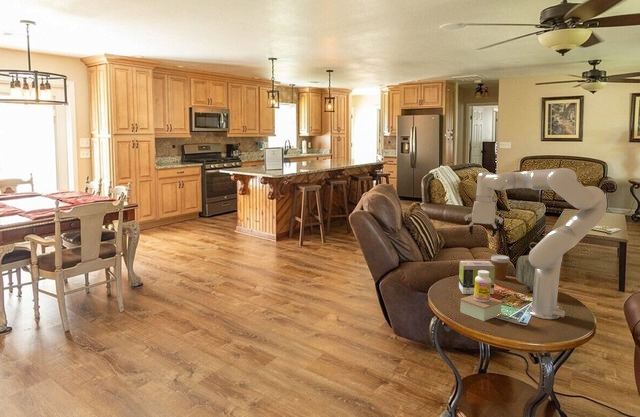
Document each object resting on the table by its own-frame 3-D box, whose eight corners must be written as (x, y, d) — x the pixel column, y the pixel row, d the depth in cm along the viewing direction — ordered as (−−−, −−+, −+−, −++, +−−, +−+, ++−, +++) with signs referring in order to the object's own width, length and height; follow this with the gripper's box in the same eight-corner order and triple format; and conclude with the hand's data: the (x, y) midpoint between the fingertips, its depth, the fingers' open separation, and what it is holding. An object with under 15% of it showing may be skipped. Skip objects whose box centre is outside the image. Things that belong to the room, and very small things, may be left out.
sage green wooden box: (501, 314, 197) (502, 301, 196) (483, 321, 190) (484, 307, 189) (477, 306, 207) (478, 293, 206) (459, 311, 200) (460, 298, 199)
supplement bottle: (476, 302, 194) (478, 273, 192) (471, 297, 201) (473, 269, 199) (492, 302, 194) (494, 273, 192) (487, 297, 201) (488, 269, 199)
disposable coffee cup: (486, 275, 251) (487, 254, 249) (503, 275, 252) (504, 254, 250) (495, 281, 242) (496, 259, 240) (512, 280, 243) (513, 258, 241)
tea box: (488, 288, 230) (490, 260, 228) (494, 295, 221) (495, 266, 218) (458, 287, 232) (459, 259, 230) (462, 294, 222) (463, 265, 220)
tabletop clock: (549, 295, 220) (554, 245, 216) (535, 297, 217) (539, 246, 213) (527, 286, 234) (530, 238, 230) (513, 288, 231) (516, 240, 227)
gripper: (505, 199, 210) (502, 235, 213) (466, 196, 217) (464, 231, 220) (504, 201, 204) (501, 238, 207) (464, 199, 211) (462, 235, 213)
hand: (482, 235), depth 213 cm, fingers open, 9 cm apart
